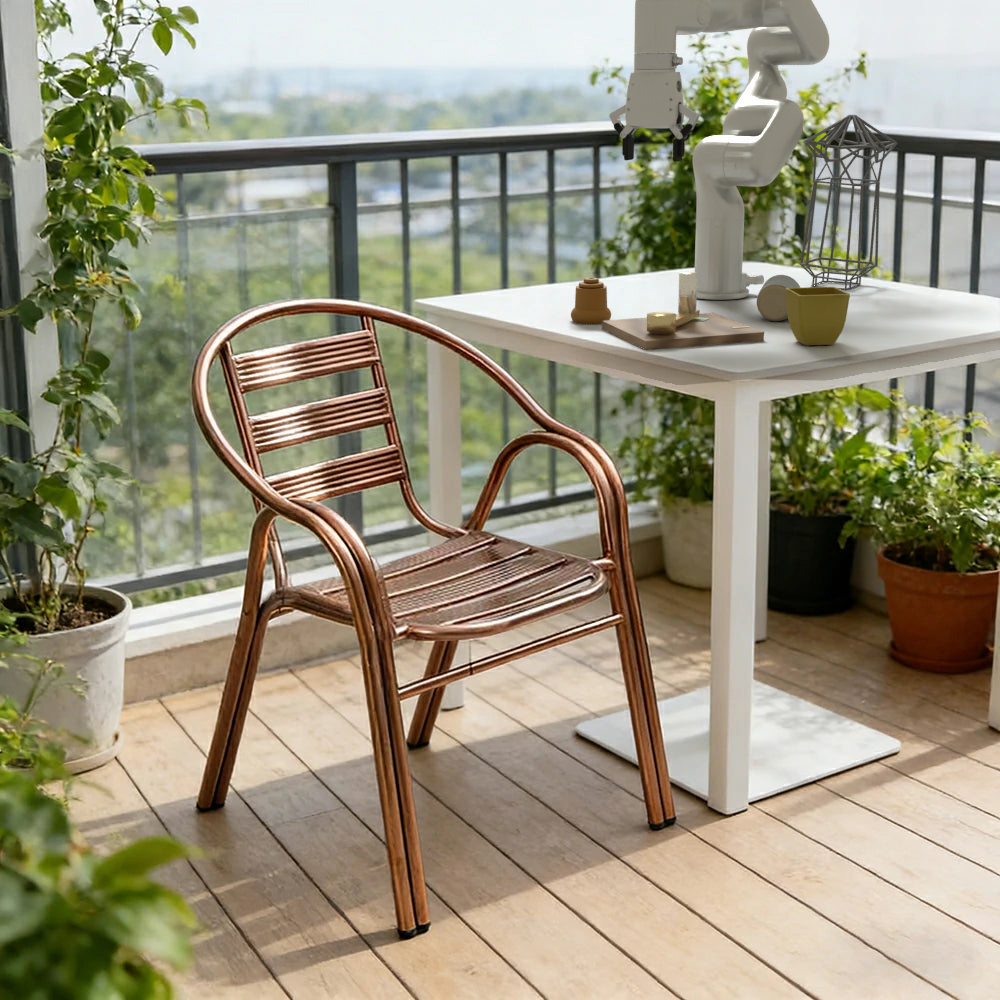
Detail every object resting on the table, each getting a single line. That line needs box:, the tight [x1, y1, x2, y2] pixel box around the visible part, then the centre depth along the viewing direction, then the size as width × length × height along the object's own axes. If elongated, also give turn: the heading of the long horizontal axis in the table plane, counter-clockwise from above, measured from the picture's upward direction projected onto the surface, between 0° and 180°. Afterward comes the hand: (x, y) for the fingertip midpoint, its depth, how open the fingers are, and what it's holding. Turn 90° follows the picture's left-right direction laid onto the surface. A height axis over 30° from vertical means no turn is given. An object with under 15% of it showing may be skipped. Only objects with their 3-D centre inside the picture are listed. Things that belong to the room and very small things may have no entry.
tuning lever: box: [646, 271, 700, 334], centre depth 247 cm, size 18×5×8 cm, turn 151°
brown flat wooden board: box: [601, 312, 765, 350], centre depth 249 cm, size 22×20×2 cm
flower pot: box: [786, 286, 851, 347], centre depth 240 cm, size 9×9×9 cm
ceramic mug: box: [756, 274, 801, 322], centre depth 261 cm, size 11×8×8 cm
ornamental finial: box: [570, 277, 612, 325], centre depth 262 cm, size 8×8×8 cm
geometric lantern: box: [799, 114, 898, 291], centre depth 292 cm, size 16×16×35 cm
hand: (653, 160), depth 263 cm, fingers open, 9 cm apart
